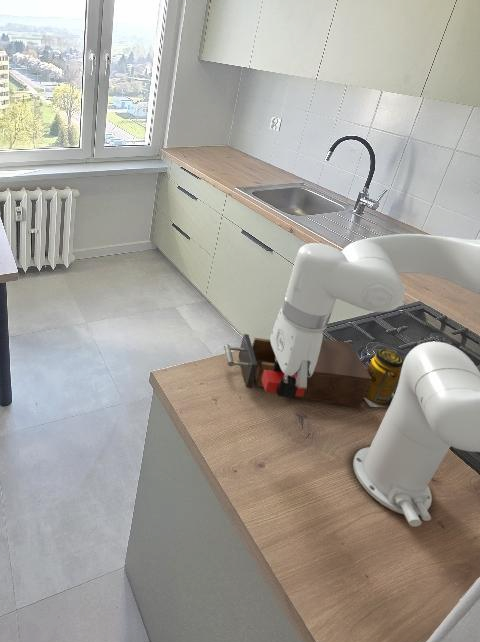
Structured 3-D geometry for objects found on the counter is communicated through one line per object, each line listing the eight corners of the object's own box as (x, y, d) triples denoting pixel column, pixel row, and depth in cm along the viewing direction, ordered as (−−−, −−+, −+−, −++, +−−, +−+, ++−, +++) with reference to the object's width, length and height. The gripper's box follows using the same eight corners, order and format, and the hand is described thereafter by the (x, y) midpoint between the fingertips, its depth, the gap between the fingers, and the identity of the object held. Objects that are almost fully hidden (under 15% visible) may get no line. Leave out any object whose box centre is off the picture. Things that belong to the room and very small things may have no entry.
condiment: (351, 382, 103) (367, 344, 98) (385, 383, 103) (402, 346, 98) (369, 407, 96) (386, 368, 91) (405, 408, 96) (424, 369, 91)
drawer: (225, 385, 99) (231, 361, 96) (219, 353, 108) (224, 331, 105) (310, 396, 97) (318, 373, 94) (296, 363, 106) (303, 341, 103)
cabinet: (289, 398, 97) (299, 369, 93) (276, 362, 108) (284, 334, 104) (359, 408, 96) (372, 378, 92) (339, 370, 106) (349, 342, 102)
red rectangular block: (297, 383, 82) (300, 373, 81) (303, 396, 79) (306, 386, 78) (261, 379, 83) (263, 369, 82) (265, 392, 80) (268, 382, 79)
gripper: (270, 282, 81) (252, 355, 89) (300, 341, 66) (274, 422, 74) (310, 286, 81) (288, 358, 88) (349, 346, 66) (318, 427, 73)
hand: (282, 386), depth 81 cm, fingers closed on red rectangular block, 3 cm apart
